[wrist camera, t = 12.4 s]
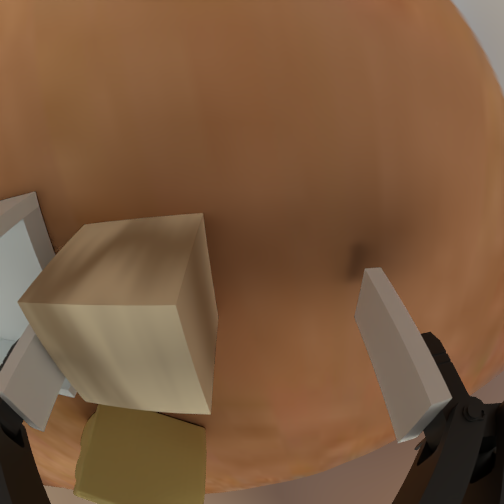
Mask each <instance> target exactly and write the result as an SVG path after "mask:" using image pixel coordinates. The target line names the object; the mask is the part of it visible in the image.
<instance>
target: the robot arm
mask: <svg viewBox="0 0 504 504" xmlns="http://www.w3.org/2000/svg"><path fill="white" fill-rule="evenodd" d="M354 318H355V320H356V323H357V325H358V328H359V330H360V333H361V336H362V338H363V341H364V343H365V346H366V349H367V351H368V354H369V357H370V360H371V362H372V365H373V368H374V371H375V374H376V376H377V379H378V382H379V385H380V388H381V391H382V394H383V397H384V400H385V403H386V406H387V409H388V412H389V415H390V419H391V422H392V425H393V428H394V432H395V435H396V438H397V442H398V443H400V442H404V441H407V440H410V439H413V438H416V437H417V436H418V435H419V434H420V433H421V432H422V431H424V434H425V436H426V437H425V438H424V439H423V440H422V441H421V442H420V443H419V444H418V445H417V446H416V448H415V450H418V449H419V448H420V449H419V451H418V454H417V456H416V458H415V460H414V463H413V465H412V467H411V469H410V471H409V473H408V475H407V477H406V479H405V481H404V483H403V485H402V487H401V488H400V490H399V492H398V494H397V496H396V497H395V499H394V501H393V503H392V504H504V401H503V402H502V403H495V404H483V402H482V401H481V400H480V399H478V398H476V397H472V396H469V394H468V393H467V391H466V389H465V387H464V385H463V383H462V381H461V379H460V377H459V375H458V373H457V371H456V369H455V367H454V365H453V363H452V362H451V361H450V358H449V356H448V354H446V350H445V349H444V347H443V345H442V343H441V342H440V340H439V339H438V338H436V337H435V336H434V335H433V334H432V333H431V332H428V333H423V334H420V332H419V330H418V329H417V327H416V325H415V323H414V322H413V320H412V318H411V316H410V315H409V313H408V311H407V309H406V308H405V306H404V304H403V303H402V301H401V299H400V298H399V296H398V294H397V293H396V291H395V289H394V288H393V286H392V284H391V283H390V281H389V280H388V278H387V276H386V275H385V273H384V272H383V270H382V269H381V267H380V268H366V269H365V270H364V275H363V280H362V285H361V289H360V294H359V299H358V303H357V307H356V312H355V316H354ZM64 379H65V376H64V374H63V373H62V372H61V370H60V369H59V368H58V366H57V365H56V363H55V362H54V361H53V359H52V358H51V356H50V355H49V353H48V352H47V351H46V349H45V348H44V346H43V345H42V343H41V341H40V340H39V338H38V337H37V335H36V334H35V332H34V330H33V329H32V327H31V325H30V324H29V325H28V326H27V328H26V329H25V331H24V332H23V334H22V336H21V337H20V338H19V339H18V340H17V341H16V342H15V343H14V344H13V345H12V346H11V348H10V350H9V351H8V353H7V356H6V357H5V358H4V360H3V363H2V364H1V365H0V504H51V503H50V501H49V498H48V496H47V494H46V491H45V489H44V486H43V483H42V481H41V478H40V475H39V472H38V470H37V467H36V464H35V460H34V457H33V454H32V451H31V447H30V444H29V440H28V436H27V432H26V429H25V427H24V426H23V425H22V422H23V420H24V421H25V422H26V423H27V424H29V425H30V426H31V427H32V428H35V429H38V430H40V431H43V432H44V430H45V427H46V424H47V422H48V419H49V416H50V414H51V411H52V408H53V406H54V403H55V401H56V398H57V396H58V393H59V391H60V389H61V386H62V384H63V382H64Z"/></svg>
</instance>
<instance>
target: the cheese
mask: <svg viewBox="0 0 504 504" xmlns="http://www.w3.org/2000/svg"><path fill="white" fill-rule="evenodd" d="M75 478H76V484H75V487H74V491H73V493H74V495H76V496H78V497H81V498H84V499H86V500H89V501H92V502H95V503H97V504H203V503H204V495H205V478H206V435H205V428H203V427H200V426H197V425H193V424H190V423H187V422H184V421H181V420H178V419H174V418H171V417H168V416H165V415H162V414H159V413H157V412H154V411H146V410H137V409H129V408H121V407H115V406H108V405H102V404H98V407H97V409H96V412H95V413H94V414H93V415H92V416H91V418H90V419H89V420H88V421H87V423H86V425H85V427H84V430H83V433H82V437H81V452H80V456H79V459H78V461H77V465H76V470H75Z"/></svg>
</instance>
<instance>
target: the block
mask: <svg viewBox="0 0 504 504" xmlns="http://www.w3.org/2000/svg"><path fill="white" fill-rule="evenodd" d="M18 304H19V306H20V308H21V310H22V312H23V313H24V315H25V317H26V319H27V320H28V322H29V324H30V325H31V327H32V329H33V330H34V332H35V334H36V335H37V337H38V338H39V340H40V341H41V343H42V345H43V346H44V348H45V349H46V351H47V352H48V353H49V355H50V356H51V358H52V359H53V361H54V362H55V363H56V365H57V366H58V368H59V369H60V370H61V372H62V373H63V374H64V376H65V377H66V378H67V380H68V381H69V382H70V384H71V385H72V386H73V387H74V389H75V390H76V391H77V392H78V393H79V395H80V396H81V397H82V398H83V399H84V401H86V402H91V403H96V404H102V405H108V406H115V407H121V408H129V409H137V410H146V411H156V412H169V413H186V414H211V404H212V390H213V376H214V364H215V351H216V339H217V328H218V311H217V305H216V299H215V293H214V287H213V280H212V274H211V267H210V260H209V254H208V247H207V240H206V232H205V225H204V217H203V213H195V214H183V215H171V216H159V217H149V218H138V219H129V220H119V221H110V222H101V223H93V224H84V226H83V227H82V228H81V229H80V230H79V231H78V232H77V233H76V234H75V235H74V236H73V237H72V238H71V239H70V240H69V241H68V242H67V243H66V244H65V245H64V247H63V248H62V249H61V250H60V251H59V252H58V253H57V254H56V255H55V257H54V258H53V259H52V260H51V261H50V262H49V263H48V265H47V266H46V267H45V268H44V269H43V270H42V272H41V273H40V274H39V275H38V276H37V278H36V279H35V280H34V281H33V282H32V284H31V285H30V286H29V287H28V289H27V290H26V291H25V293H24V294H23V295H22V296H21V298H20V299H19V300H18Z"/></svg>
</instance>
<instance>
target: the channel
mask: <svg viewBox="0 0 504 504" xmlns="http://www.w3.org/2000/svg"><path fill="white" fill-rule="evenodd" d="M54 257H55V252H54V250H53V247H52V244H51V241H50V238H49V236H48V233H47V230H46V226H45V223H44V220H43V217H42V214H41V210H40V207H39V203H38V200H37V196H36V192H31V193H27V194H23V195H20V196H16V197H12V198H8V199H5V200H1V201H0V365H1V364H2V363H3V360H4V358H5V357H6V356H7V353H8V351H9V350H10V348H11V346H12V345H13V344H14V343H15V342H16V341H17V340H18V339H19V338H20V337H21V336H22V334H23V332H24V331H25V329H26V328H27V326H28V325H29V322H28V320H27V319H26V317H25V315H24V313H23V312H22V310H21V308H20V306H19V304H18V300H19V299H20V298H21V296H22V295H23V294H24V293H25V291H26V290H27V289H28V287H29V286H30V285H31V284H32V282H33V281H34V280H35V279H36V278H37V276H38V275H39V274H40V273H41V272H42V270H43V269H44V268H45V267H46V266H47V265H48V263H49V262H50V261H51V260H52V259H53V258H54ZM76 393H77V391H76V390H75V389H74V387H73V386H72V385H71V384H70V382H69V381H68V380H67V378H66V377H65V379H64V382H63V384H62V386H61V389H60V391H59V393H58V394H60V395H64V396H69V397H73V398H75V395H76Z"/></svg>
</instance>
